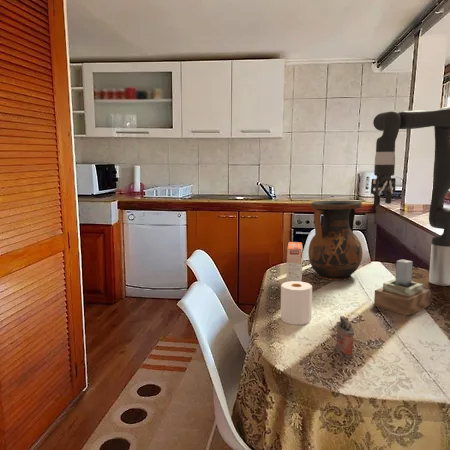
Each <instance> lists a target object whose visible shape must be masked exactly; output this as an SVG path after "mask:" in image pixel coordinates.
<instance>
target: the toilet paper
mask: <svg viewBox="0 0 450 450" xmlns="http://www.w3.org/2000/svg"><path fill="white" fill-rule="evenodd" d="M312 308H313V285H312V284H311V283H309V282H305V281H290V282H286V281H284V282H282V284H281V286H280V319H281V320H282V322H283V323H285V324H289V325H297V326H299V325H301V326H302V325H306V324H307V325H308V324H310V322H311V321H312V318H313V317H312V314H313V313H312V312H313V311H312Z"/></svg>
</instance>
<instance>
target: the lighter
mask: <svg viewBox="0 0 450 450" xmlns="http://www.w3.org/2000/svg"><path fill="white" fill-rule="evenodd" d="M352 325H353V324H352V323H351V322H350V320H349V318H348V317H345V316H343V315H341V316H340V317H339V321H337V322H336V343H335V350H336V352H337V353H338V354H339V355H340V356H341V357H343V359H346V360H352V359H353V358H354V352H353V349H354V348H353V347H354V343H353V342H354V335H355V330H354V329H353V327H352Z"/></svg>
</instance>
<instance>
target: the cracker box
mask: <svg viewBox="0 0 450 450" xmlns="http://www.w3.org/2000/svg"><path fill="white" fill-rule="evenodd" d="M286 250H287V251H286V281H285V282H290V281H301V282H303V281H302V275H303V242H298V241H288V244H287V249H286Z"/></svg>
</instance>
